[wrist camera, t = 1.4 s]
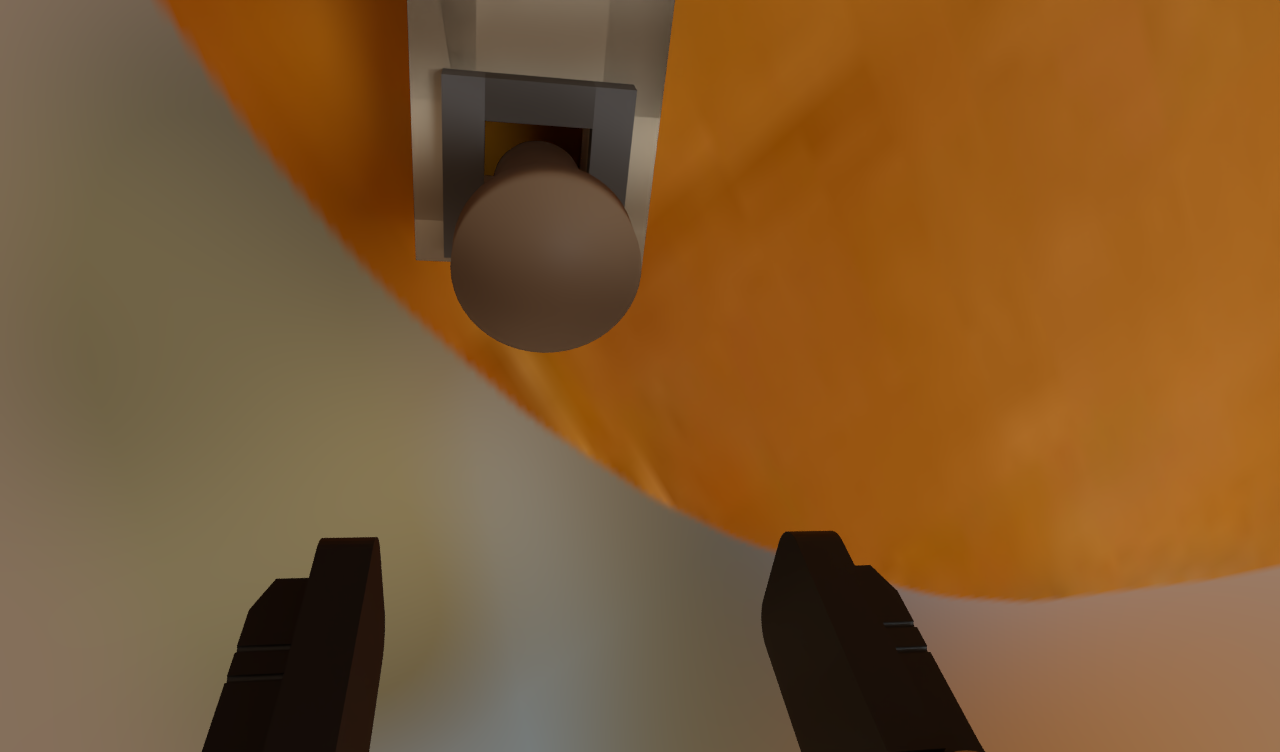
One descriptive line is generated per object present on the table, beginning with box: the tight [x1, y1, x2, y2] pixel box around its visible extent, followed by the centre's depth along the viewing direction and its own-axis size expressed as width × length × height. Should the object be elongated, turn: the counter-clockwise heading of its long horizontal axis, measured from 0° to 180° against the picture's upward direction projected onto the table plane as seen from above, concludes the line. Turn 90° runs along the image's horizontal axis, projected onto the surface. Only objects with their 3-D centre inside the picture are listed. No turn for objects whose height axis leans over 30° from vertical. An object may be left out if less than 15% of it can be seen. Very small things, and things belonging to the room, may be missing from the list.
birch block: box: [407, 0, 675, 268], centre depth 27 cm, size 16×8×6 cm, turn 173°
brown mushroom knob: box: [450, 141, 642, 353], centre depth 23 cm, size 5×5×6 cm
